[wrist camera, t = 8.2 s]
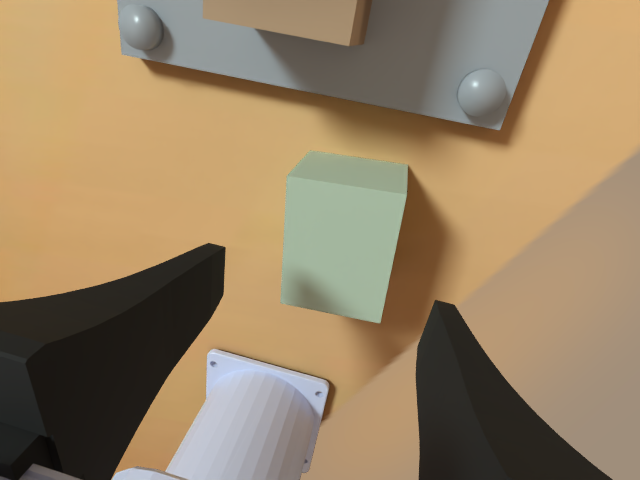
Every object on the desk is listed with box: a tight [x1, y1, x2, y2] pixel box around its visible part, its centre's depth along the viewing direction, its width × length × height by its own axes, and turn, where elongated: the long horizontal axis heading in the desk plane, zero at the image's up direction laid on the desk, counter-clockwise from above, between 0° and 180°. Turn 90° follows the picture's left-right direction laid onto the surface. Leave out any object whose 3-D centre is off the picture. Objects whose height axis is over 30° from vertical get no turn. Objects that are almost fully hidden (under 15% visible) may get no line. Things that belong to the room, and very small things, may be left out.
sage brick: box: [281, 150, 408, 323], centre depth 18 cm, size 6×4×4 cm
